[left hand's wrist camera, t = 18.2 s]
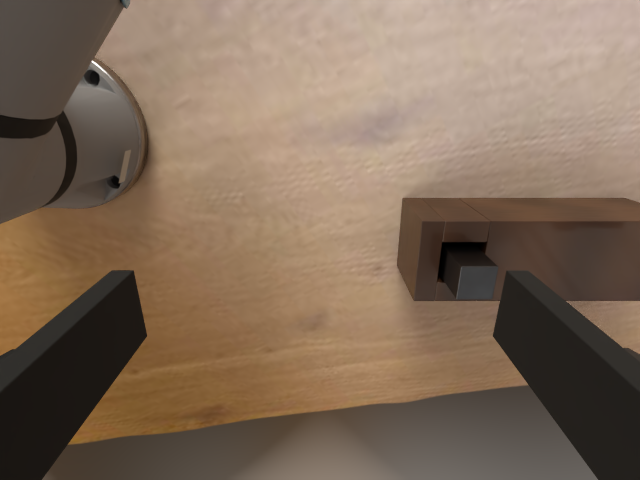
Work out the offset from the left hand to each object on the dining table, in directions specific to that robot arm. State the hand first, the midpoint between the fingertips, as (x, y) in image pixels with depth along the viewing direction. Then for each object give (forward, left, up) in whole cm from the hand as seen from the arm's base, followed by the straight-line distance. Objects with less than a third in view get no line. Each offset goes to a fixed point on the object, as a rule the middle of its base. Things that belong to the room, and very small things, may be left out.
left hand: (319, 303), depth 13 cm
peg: (+13, -7, -27) cm, 30 cm away
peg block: (+21, -7, -27) cm, 35 cm away
